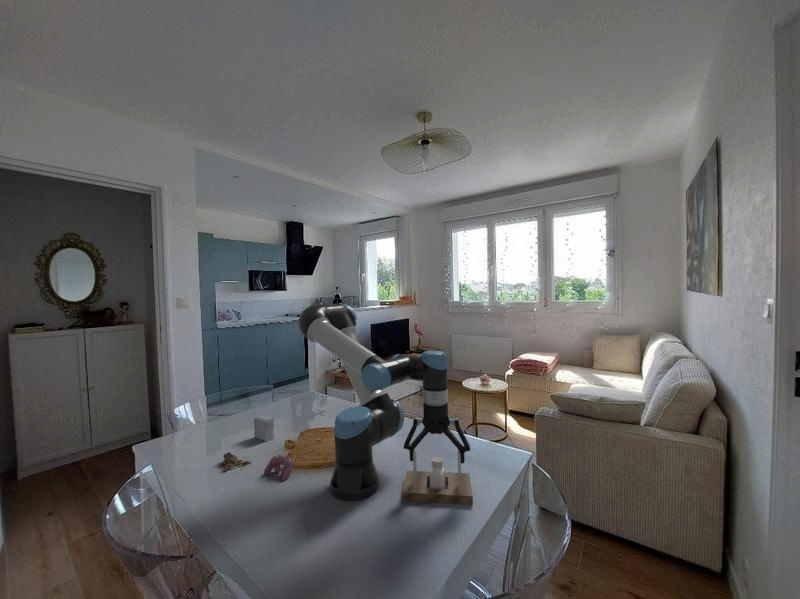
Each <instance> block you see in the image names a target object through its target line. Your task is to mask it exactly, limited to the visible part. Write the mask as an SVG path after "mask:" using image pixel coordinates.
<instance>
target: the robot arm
mask: <svg viewBox="0 0 800 599" xmlns="http://www.w3.org/2000/svg"><path fill="white" fill-rule="evenodd" d="M357 320H358V317H357V314H356V312H355V310H354V309H353V308H352V307H351V306H350V305H349V304H345V303H333V304H313V305H312V304H311V305H310V306H307V307H306V308H304V310H303V311H302V312H301V313H300V315H299V318H298V328H299V330H300V333H301V334H302V335H303V337H305V338H306V339H307V340H308V341H310V342H311V343H317V344H318V345H320V346H321V347H323V348H324V349H326V350H327V351H328V352H329V353H331V354H332V355H334V356H335V357H336V358H338V359H339V360H340V361H341V363H342V364H343V367H344V370H345V372H346V374H347V376H348V379H349V380H350V383H351V385H352V387H353V389H354V391H355V393H356V396H357V398H358V401H359V404H358V406H354V407H348V408H346V409H343V410H341V411H340V412H339V413H337V415H336V416H335V419H334V428H333V433H334V449H335V450H334V457H335V458H334V460H335V461H334V462H335V464H334V467H333V471H332V474H331V478H330V483H329V487H330V488H329V490H330V493H331V494H332V496H333V497H335V498H336V499H339V500H343V501H358V500H363V499H366V498H369V497H370V496H372V495H373V494H375V492H377V490H378V489H379V486H380V485H379V484H380V483H379V479H380V478H379V474H378V470H377V469H376V468H377V467H376V466H375V463H374V462H375V461H374V458H373V447H374V446H376V445H379V443H382V442H384V441H385V440H387V439H388V438H392V437H393V436H395V435H396V434H397V433H399V432H400V431H401V430H402V428H403V426H404V422H405V411H404V409H403V406H402V404H401V403H400V402H399V401H396V399H392V398H391V396H389V393H388V392H386V391H384V389H387V388H389V387H391V386H394V385H397V384H400V383H404V382H405V381H409V380H410V381H411V380H412V381H419V382H422V401H423V403H422V404H423V405H422V406H423V408H422V409H423V417H422V418H421V417H418V416H414V417H413V420H412V421H413V423H412V427H411V428H410V430H409V432H408V434H407V437H406V439H405V442H404V444H403V449H404V450H406V449H407V450H408V451H409V461H410V462H413V464H412V465H413V471H414V473H416V471H418V468H417V467H418V463H417V461H418V460H417V459H418V458H417V455H418V454H417V446H418V445H419V444H420V443H421V442H422V441H423V439H424V438H425V437H426V436H427V435H428V434H431V435H435V434H437V435H442V434H444V435H445V436H446V437H447V438H448V439H449V440H450V442H451V443H452V444H453V446H455V448H457V473H458V475H460V476H461V473H462V464H464V463H465V453H466V452H471V445H470V443H469V441H468V439H467V437H466V435H465V434H464V431H463V430H462V427H461V425H460V422H459V421H460V420H459V417H457V416H456V417H455V418H449V404H448V401H449V394H448V393H449V392H448V367H449V366H448V359H447V353H446V352H444V351H442V350H426V351H425V350H424V351H423V352H422V354H421V356H418V355H417V356H416V355H410V354H409V355H408V354H404V353H403V354H398V353H397V354H395V355H393V356H392V358H391V357H390V358H391V359H386V360H385V359H384V358H382V357H380V356H379V355H377V354H376V353H373V351H371V350H369V349H368V348H366V347H365V346H363V345H362V344H360V343H359V341H358V339H357V337H356V335H355V334H356V331H357V328H356V327H357V323H358V322H357ZM421 424H422V425H423V426H424V427H423V429H422V430H421V432H419V434H418V435H417V436H416V438H415V439H413V441H412V442H411V440H412V438H413V437H414V435H415V432H416V430H417V428H418V426H420V425H421ZM450 425H452V427H454V428H455V429H456V430H455V431H456V432H457V434H458V436H459V438H460V440H461V442H462V443H461V442H460V441H459V439H458V438H457V437H456V436H455V435H454V434H453V432H452V431H451V430H450V428H449V426H450Z"/></svg>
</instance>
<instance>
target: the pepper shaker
mask: <svg viewBox="0 0 800 599" xmlns="http://www.w3.org/2000/svg"><path fill="white" fill-rule="evenodd" d="M431 467H432V468H430V470H429V472H430V484H429V488H434V489H446V485H445V472H446V471H445V469H444V468H443V459H442V458H441V457H437V456H435V457H432V458H431Z"/></svg>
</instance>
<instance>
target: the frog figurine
mask: <svg viewBox="0 0 800 599" xmlns="http://www.w3.org/2000/svg"><path fill="white" fill-rule="evenodd" d="M243 459H247V457H244V456H243V457H240V459H239V458H238V456H237V455H234V454H232V453H231V452H230V451H228V452H226V453H224V454H223V460H222V461H221V462H220V464H219V465H220V466H219V467H223V472H226V473H230V472H232V473H233V472H239V471H241V470H242V468H246V467H248V466H250V465H252V464H253V461H252V459H249V458H248V460H243ZM225 463H226V464H225ZM251 463H252V464H251ZM224 465H225V466H224ZM233 468H234V469H233ZM232 469H233V470H232Z"/></svg>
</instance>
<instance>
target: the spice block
mask: <svg viewBox="0 0 800 599" xmlns="http://www.w3.org/2000/svg"><path fill="white" fill-rule="evenodd" d="M428 485H430V471H426V470H425V471H424V470H423V471H421V470H417V471H416V473H414V470H406V474H405V480H404V483H403V488H402V502H415V503H431V504H432V503H433V504H452V505H467V506H468V505H469V506H470V505H471V506H474V499H473V498H474V496H473V490H472V489H473V488H472V483H471V475H470V473H469V472H467V473H465V472H461V476H460V475H458V472H447V471H445V486H447V488H445V489H434V488H430V487H428Z"/></svg>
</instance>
